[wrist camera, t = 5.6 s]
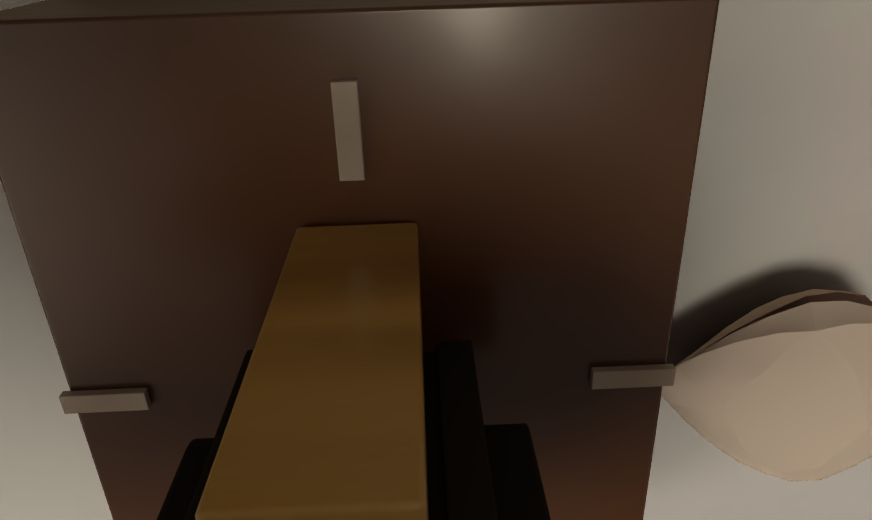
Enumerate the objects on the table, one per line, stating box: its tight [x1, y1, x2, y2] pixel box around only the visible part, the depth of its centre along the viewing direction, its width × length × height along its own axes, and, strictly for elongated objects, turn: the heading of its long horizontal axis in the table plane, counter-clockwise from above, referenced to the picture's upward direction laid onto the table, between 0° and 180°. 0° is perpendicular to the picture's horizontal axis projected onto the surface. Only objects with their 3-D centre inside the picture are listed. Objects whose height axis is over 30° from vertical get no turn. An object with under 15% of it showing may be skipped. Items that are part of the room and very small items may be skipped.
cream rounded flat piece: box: [661, 289, 872, 481], centre depth 14 cm, size 4×5×2 cm
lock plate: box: [0, 0, 719, 520], centre depth 13 cm, size 12×10×3 cm
